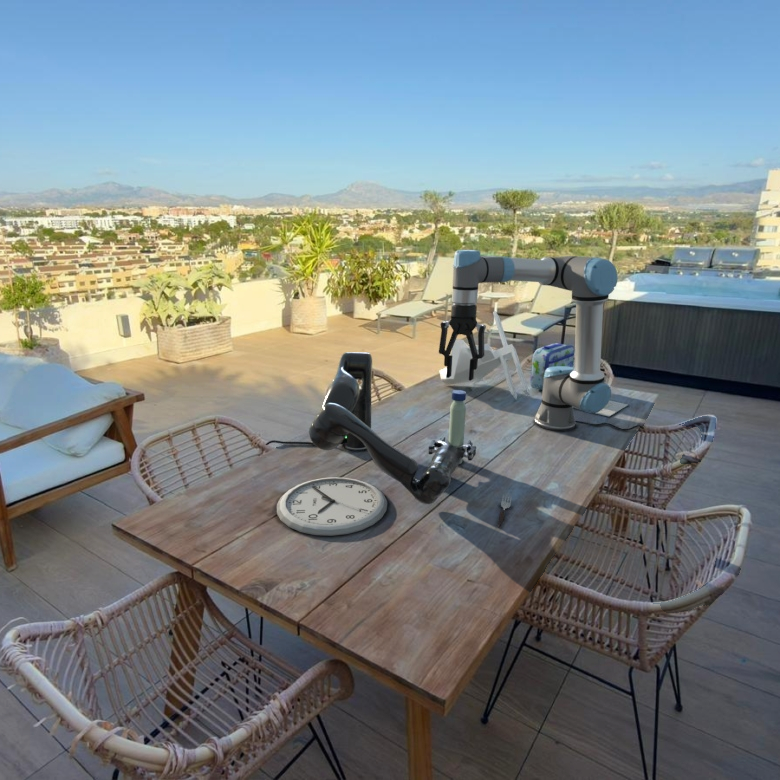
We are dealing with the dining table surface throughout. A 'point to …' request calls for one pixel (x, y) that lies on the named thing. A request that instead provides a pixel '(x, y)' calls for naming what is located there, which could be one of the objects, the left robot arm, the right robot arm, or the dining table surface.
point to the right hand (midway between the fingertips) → (459, 377)
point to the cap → (458, 395)
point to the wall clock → (331, 506)
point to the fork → (504, 505)
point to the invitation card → (611, 408)
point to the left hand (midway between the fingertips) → (456, 441)
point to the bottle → (457, 424)
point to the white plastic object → (483, 362)
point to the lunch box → (549, 361)
